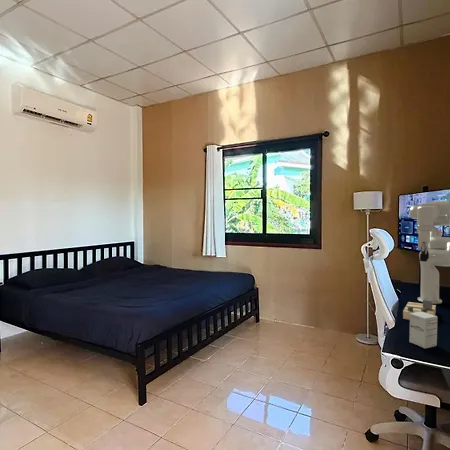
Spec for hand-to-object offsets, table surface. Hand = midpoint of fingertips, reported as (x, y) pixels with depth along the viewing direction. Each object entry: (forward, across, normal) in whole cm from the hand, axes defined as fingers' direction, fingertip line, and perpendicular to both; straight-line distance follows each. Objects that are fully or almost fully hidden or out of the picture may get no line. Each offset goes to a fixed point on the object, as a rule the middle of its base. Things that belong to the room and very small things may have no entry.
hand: (424, 260), depth 181 cm
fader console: (+28, +10, -1) cm, 30 cm away
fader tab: (+24, +10, +3) cm, 26 cm away
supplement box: (+28, +51, +4) cm, 59 cm away
